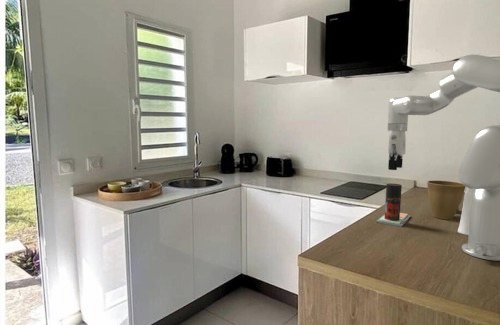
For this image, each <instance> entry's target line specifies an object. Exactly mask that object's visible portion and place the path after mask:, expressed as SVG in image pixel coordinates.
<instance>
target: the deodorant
mask: <svg viewBox="0 0 500 325" xmlns="http://www.w3.org/2000/svg"><path fill="white" fill-rule="evenodd" d="M402 186H403V185H402V184H399V183H389V182H388V183H386V185H385V202H384V203H385V204H384V205H385V206H384V214H385V219H386V220H390V221H399V220H400V213H401V203H402V199H401V198H402V189H403V188H402Z"/></svg>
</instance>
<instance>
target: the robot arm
mask: <svg viewBox="0 0 500 325" xmlns="http://www.w3.org/2000/svg"><path fill="white" fill-rule="evenodd" d="M438 84H439V89H438V90H436V91H435V92H432V93H430V94H428V95H424V96H423V95H406V96H402V97H393V98H390V99H389V101H388V113H387V114H388V116H387V117H388V118H387V132H389V135H388V170H389V171H397V170H398V168H399V169H402V168H403V155H405V154H406V139H407V138H406V132H408V125H409V124H408V123H409V122H408V121H409V116H428V115H433V113H436V112H439V111H440V110H442V109H444V108H447V107H448V106H449V105H450V104H451V103H453V101H455V99H456V98H459V97H460V96H462V95H465V94H466V93H469V92H470V91H473V90H475V89H477V88H481V89H485V90H488V91H493V92H497V93H500V59H496V58H493V57H489V56H485V55H480V54H467V55H463V56H462V57H460V58H459V59H458V60H457V61H455V63H454V64H453V67H452V71H451V72H450V73H448V74H447V75H444V76H442V78H440V79H439V82H438ZM458 177H459V181H460V183H462V184H463V185H464V186H465V188H467V187H468V188H470V189H475V190H474V193H473V197H472V205H471V214H470V225H469V235H467V236H468V238H467V239H468V240H467V243H463V244H462V245H461V250H462V251H463V252H464V253H465V254H467V255H469V256H472V257H474V258H478V259H483V260H488V261H495V262H498V261H499V262H500V122H499V124H495V125H494V124H493V125H488V126H486V127H483V128H481V129H480V130H479V131H478V132H477V133H476V134H475V135H474V137H473V139H472V140H471V143H470V144H469V147H468V149H467V151H466V153H465V155H464V158H463V159H462V162H461V163H460V166H459V169H458Z"/></svg>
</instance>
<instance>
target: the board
mask: <svg viewBox="0 0 500 325" xmlns="http://www.w3.org/2000/svg"><path fill="white" fill-rule="evenodd" d="M409 219H411V215H409V214H408V213H404V212H400V220H399V221H390V220H386V219H385V213H384V214H383V215H381V217H379V218H378V219H377V220H376V221H375V222H376V223H377V222H378V224H385V225H389V226H396V227H400V228H402V227H403V226H404V224H406V223H407V222H408V221H409Z"/></svg>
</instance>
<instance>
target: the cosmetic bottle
mask: <svg viewBox="0 0 500 325" xmlns="http://www.w3.org/2000/svg"><path fill="white" fill-rule="evenodd" d="M474 190H475V189H470V188H468V187H466V188H465V191H464V194H463V202H462V209H461V216H460V221H459V226H458V228H457V233H459V234H461V235H466V236H469V225H470V214H471V205H472V197H473V193H474Z"/></svg>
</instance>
